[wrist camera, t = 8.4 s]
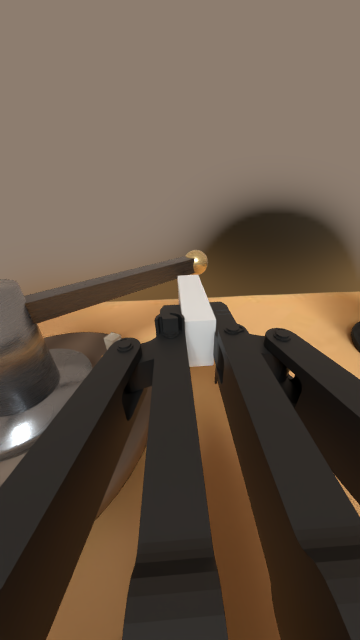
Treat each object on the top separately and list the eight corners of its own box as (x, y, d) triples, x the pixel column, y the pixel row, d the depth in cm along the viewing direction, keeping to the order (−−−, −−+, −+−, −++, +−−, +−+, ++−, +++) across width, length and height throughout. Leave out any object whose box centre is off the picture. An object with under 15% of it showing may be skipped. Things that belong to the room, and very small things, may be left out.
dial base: (-180, 472, 14) (-240, 441, 12) (68, 331, 30) (58, 306, 27) (-86, 821, 6) (-228, 901, 4) (192, 375, 21) (192, 344, 19)
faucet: (-66, 509, 10) (-270, 389, 6) (-48, 393, 17) (-138, 294, 13) (232, 326, 24) (241, 248, 20) (179, 301, 31) (176, 238, 26)
